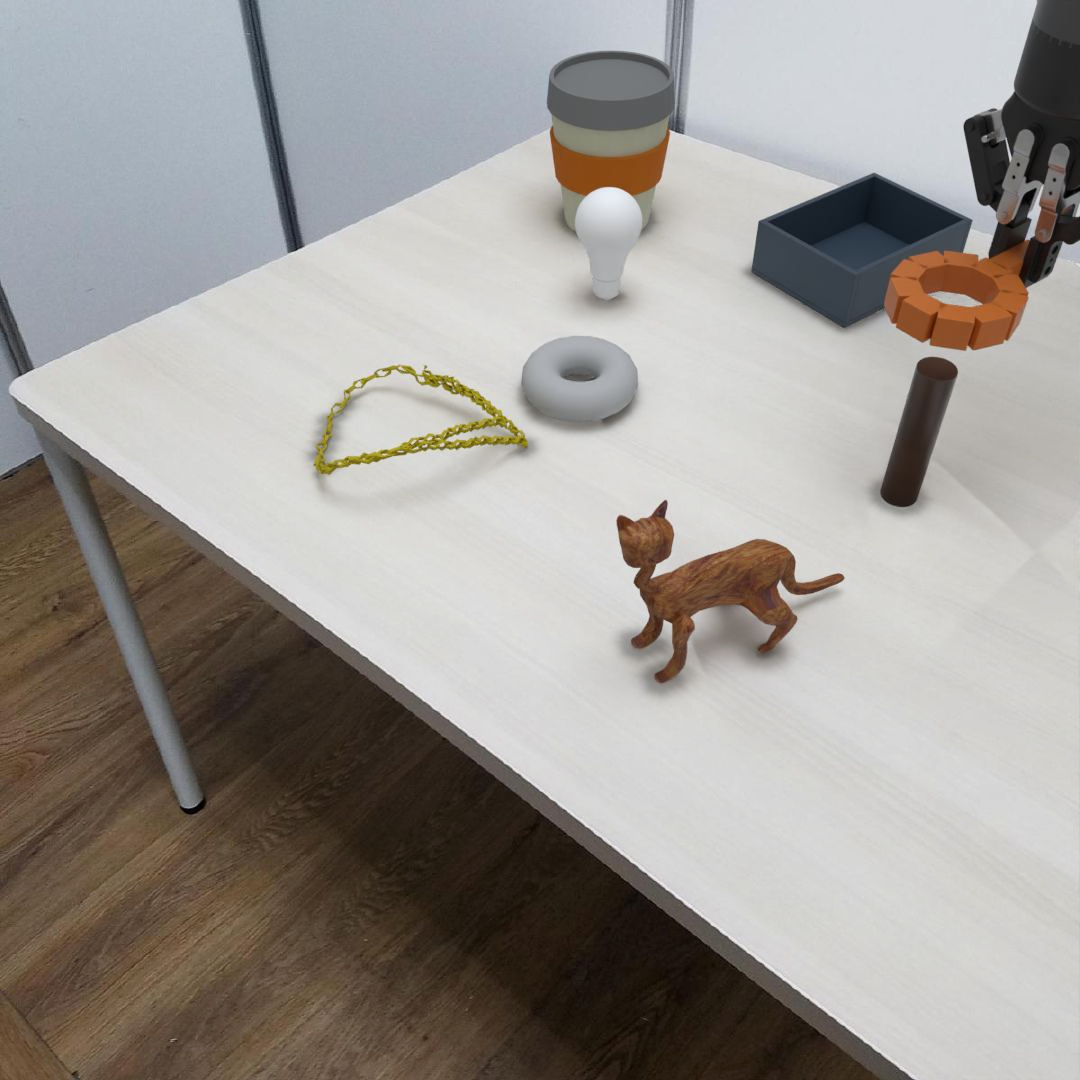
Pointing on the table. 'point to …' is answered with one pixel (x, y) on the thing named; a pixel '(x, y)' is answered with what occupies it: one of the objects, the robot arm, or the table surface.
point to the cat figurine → (708, 584)
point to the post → (918, 430)
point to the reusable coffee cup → (609, 125)
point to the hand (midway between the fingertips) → (1015, 274)
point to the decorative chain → (407, 446)
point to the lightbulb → (608, 235)
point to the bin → (852, 244)
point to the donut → (579, 398)
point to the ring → (958, 275)
